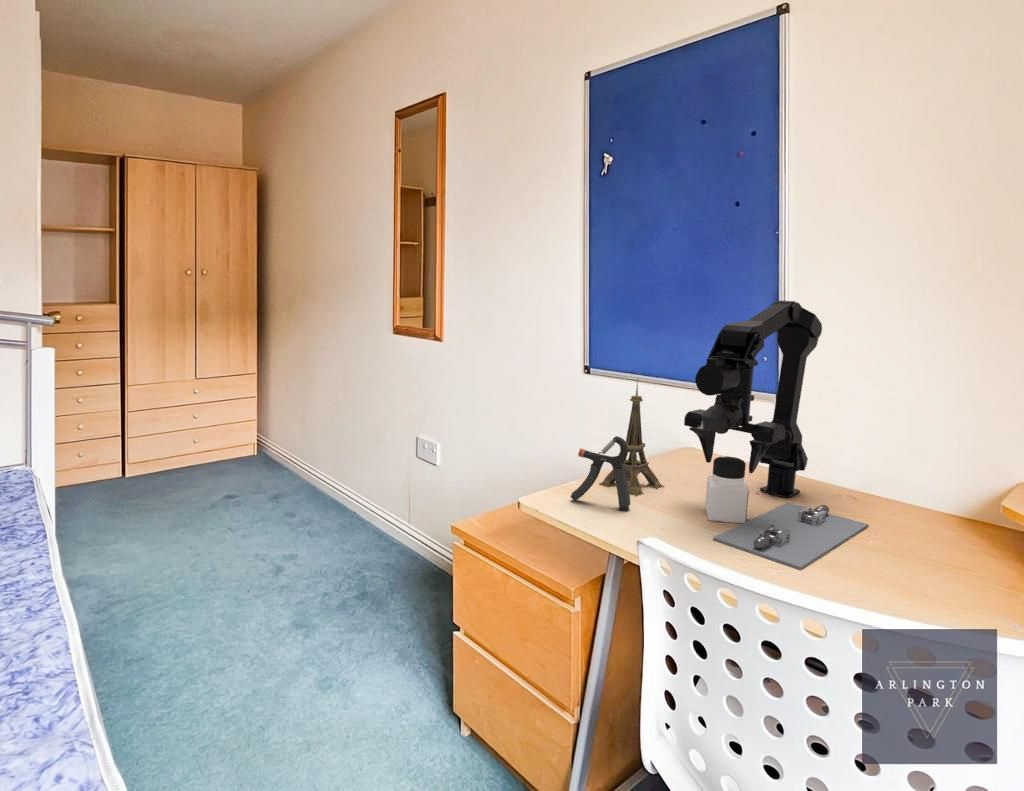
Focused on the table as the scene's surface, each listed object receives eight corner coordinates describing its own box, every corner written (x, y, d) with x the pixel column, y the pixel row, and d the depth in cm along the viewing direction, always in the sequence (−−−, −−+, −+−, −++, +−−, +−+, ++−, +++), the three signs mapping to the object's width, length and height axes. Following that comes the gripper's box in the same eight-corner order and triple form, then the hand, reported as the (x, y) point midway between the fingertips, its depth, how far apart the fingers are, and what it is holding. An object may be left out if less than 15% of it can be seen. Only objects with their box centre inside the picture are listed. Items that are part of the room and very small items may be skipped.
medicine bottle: (746, 524, 126) (751, 464, 124) (708, 520, 128) (712, 461, 125) (740, 511, 133) (746, 455, 131) (704, 508, 134) (709, 452, 132)
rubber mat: (787, 504, 138) (787, 502, 138) (868, 526, 126) (868, 524, 126) (712, 539, 118) (713, 537, 118) (800, 569, 106) (800, 567, 106)
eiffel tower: (626, 476, 156) (632, 373, 151) (664, 487, 148) (671, 379, 144) (598, 484, 149) (603, 377, 144) (636, 496, 141) (643, 383, 137)
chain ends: (816, 510, 133) (817, 501, 133) (834, 515, 131) (835, 506, 130) (746, 547, 114) (747, 536, 113) (766, 554, 111) (767, 543, 111)
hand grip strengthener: (572, 498, 138) (575, 430, 136) (630, 508, 133) (634, 437, 130) (569, 502, 136) (572, 432, 134) (627, 512, 131) (631, 440, 128)
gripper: (671, 387, 127) (665, 464, 130) (761, 402, 114) (753, 487, 116) (701, 382, 135) (696, 454, 137) (790, 395, 121) (782, 475, 124)
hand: (729, 467), depth 129 cm, fingers open, 9 cm apart
